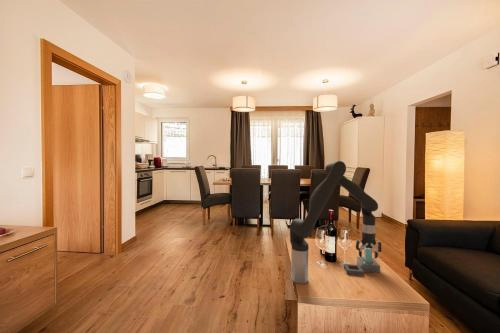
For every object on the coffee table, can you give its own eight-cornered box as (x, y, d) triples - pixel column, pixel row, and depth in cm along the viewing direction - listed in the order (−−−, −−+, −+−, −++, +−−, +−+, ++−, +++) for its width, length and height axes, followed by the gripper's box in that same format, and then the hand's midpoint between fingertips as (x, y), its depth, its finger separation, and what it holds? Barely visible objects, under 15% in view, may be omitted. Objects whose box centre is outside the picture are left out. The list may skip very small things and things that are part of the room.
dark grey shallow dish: (363, 275, 138) (363, 271, 138) (347, 274, 140) (347, 270, 140) (359, 269, 147) (359, 265, 147) (344, 267, 149) (344, 263, 149)
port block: (379, 273, 142) (380, 265, 142) (361, 271, 144) (362, 263, 144) (373, 265, 154) (373, 257, 154) (356, 263, 156) (357, 255, 156)
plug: (371, 269, 147) (372, 250, 147) (365, 269, 147) (365, 249, 147) (370, 267, 150) (370, 248, 150) (363, 266, 151) (364, 247, 151)
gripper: (357, 232, 146) (357, 258, 146) (383, 234, 143) (382, 261, 144) (355, 229, 153) (354, 254, 154) (379, 230, 151) (378, 256, 151)
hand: (368, 257), depth 149 cm, fingers open, 8 cm apart
